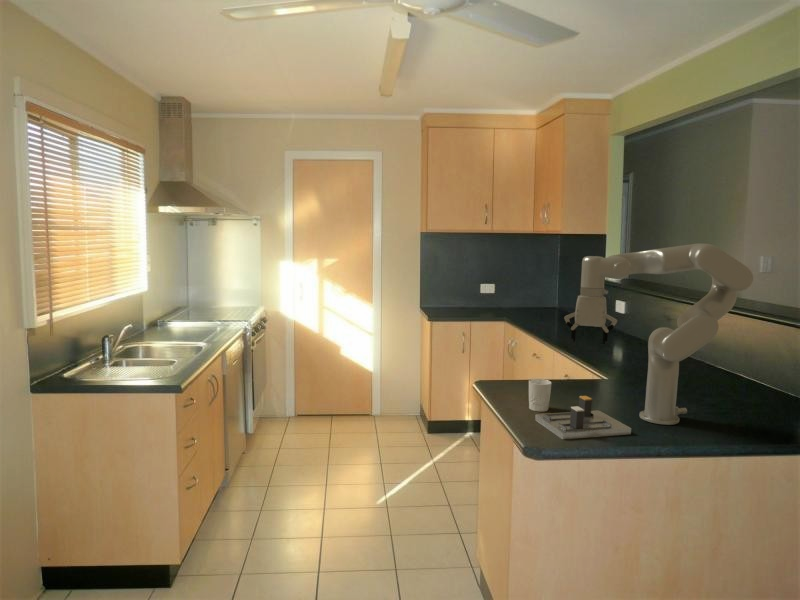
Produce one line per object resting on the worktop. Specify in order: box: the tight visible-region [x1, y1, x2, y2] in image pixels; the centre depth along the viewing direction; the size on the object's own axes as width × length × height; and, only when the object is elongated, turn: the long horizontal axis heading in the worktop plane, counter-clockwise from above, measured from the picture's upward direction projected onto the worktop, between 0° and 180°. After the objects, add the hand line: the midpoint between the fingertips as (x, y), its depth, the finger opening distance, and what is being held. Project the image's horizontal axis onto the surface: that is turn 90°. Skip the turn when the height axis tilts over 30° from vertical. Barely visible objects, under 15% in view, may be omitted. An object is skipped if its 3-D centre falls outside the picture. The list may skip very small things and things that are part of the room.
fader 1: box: [570, 405, 584, 429], centre depth 185 cm, size 2×4×6 cm
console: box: [534, 410, 632, 440], centre depth 191 cm, size 24×18×3 cm
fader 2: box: [578, 395, 593, 417], centre depth 197 cm, size 2×4×6 cm
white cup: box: [528, 378, 552, 413], centre depth 209 cm, size 8×8×10 cm
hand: (588, 342), depth 201 cm, fingers open, 9 cm apart
